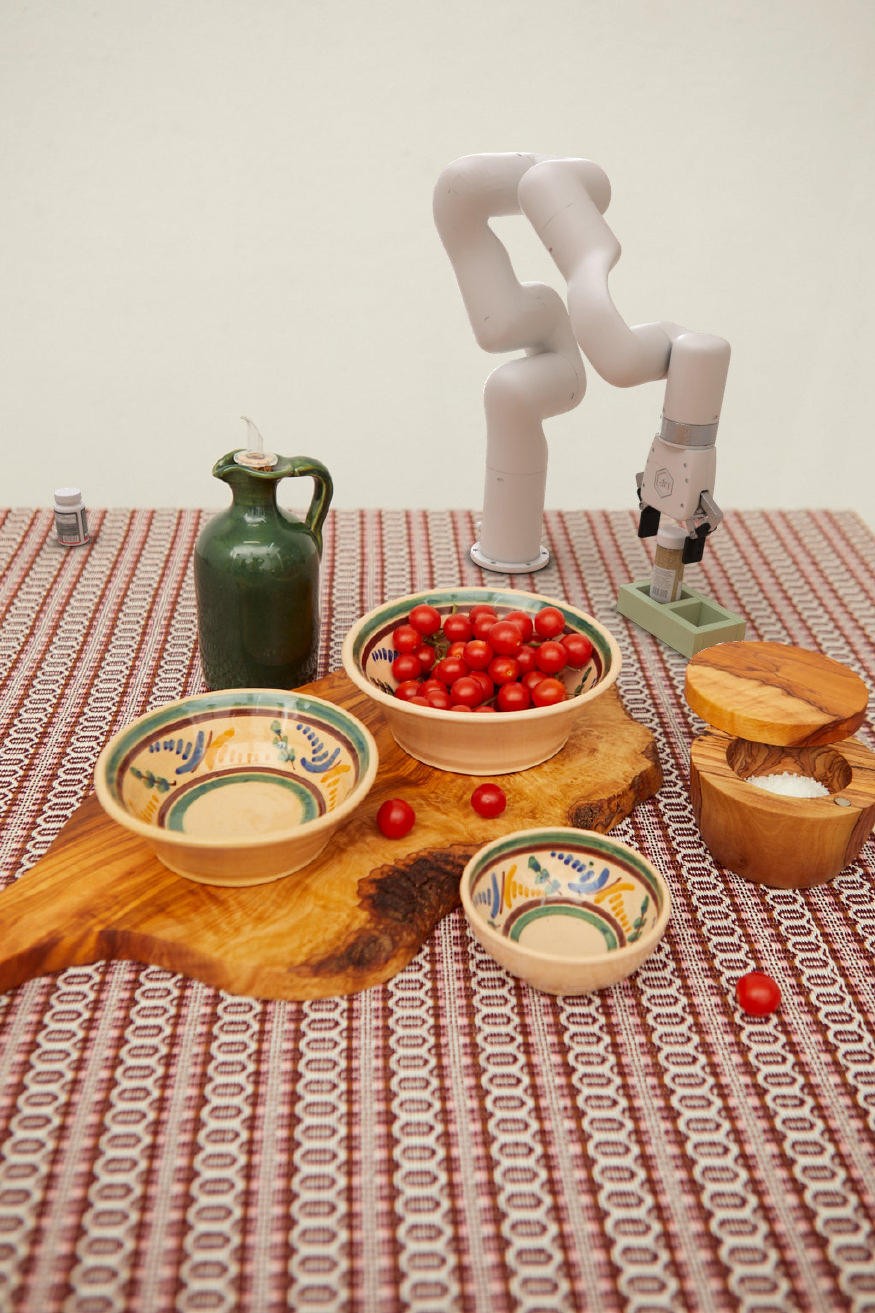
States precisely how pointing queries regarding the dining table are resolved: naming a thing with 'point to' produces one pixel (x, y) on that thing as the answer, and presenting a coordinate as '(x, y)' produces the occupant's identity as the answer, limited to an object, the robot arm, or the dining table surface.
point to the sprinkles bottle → (668, 565)
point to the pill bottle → (70, 517)
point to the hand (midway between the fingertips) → (668, 549)
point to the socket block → (680, 618)
